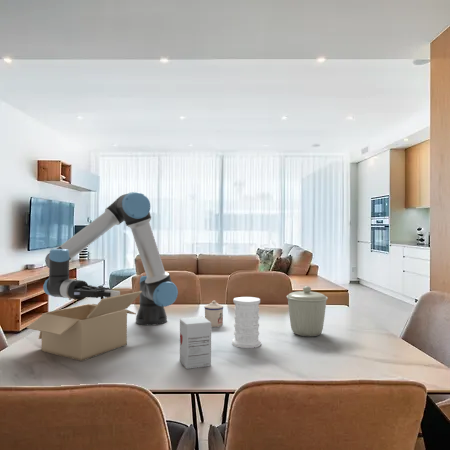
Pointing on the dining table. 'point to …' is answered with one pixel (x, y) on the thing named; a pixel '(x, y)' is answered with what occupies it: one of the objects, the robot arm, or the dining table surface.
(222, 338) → the dining table surface
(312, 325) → the canister
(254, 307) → the decorative container
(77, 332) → the carton
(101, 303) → the carton flap
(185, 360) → the supplement box
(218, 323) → the teacup with lid
